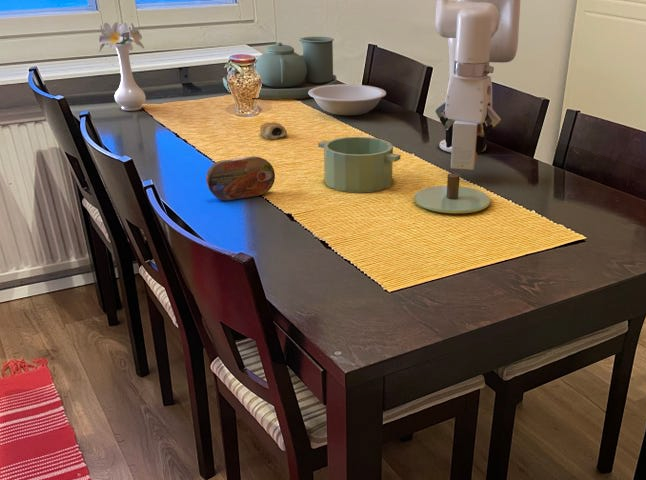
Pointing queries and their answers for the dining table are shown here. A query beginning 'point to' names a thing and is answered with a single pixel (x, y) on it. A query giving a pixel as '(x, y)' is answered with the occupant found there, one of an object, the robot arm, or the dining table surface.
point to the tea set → (295, 69)
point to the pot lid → (452, 197)
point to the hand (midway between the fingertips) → (465, 148)
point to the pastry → (272, 130)
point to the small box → (464, 145)
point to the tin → (240, 178)
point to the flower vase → (124, 63)
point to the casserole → (358, 163)
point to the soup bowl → (347, 98)
